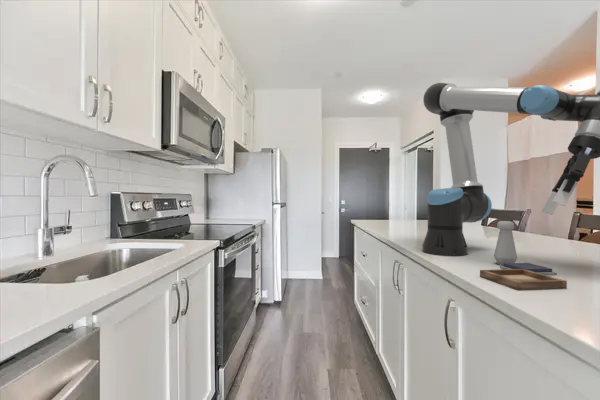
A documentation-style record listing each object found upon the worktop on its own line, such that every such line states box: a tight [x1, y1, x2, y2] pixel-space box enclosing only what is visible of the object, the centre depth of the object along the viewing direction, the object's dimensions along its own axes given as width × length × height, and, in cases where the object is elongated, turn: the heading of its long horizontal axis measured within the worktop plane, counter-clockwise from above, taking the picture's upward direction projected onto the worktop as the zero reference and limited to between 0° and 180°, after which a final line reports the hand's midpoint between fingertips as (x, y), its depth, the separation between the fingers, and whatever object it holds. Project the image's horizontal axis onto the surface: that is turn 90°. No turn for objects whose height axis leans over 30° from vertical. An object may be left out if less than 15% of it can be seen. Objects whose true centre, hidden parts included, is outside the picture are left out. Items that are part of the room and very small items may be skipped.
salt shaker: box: [493, 220, 518, 266], centre depth 97 cm, size 6×6×13 cm
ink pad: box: [499, 262, 558, 276], centre depth 88 cm, size 9×9×2 cm
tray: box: [479, 268, 568, 291], centre depth 77 cm, size 12×12×2 cm
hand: (552, 208), depth 90 cm, fingers open, 13 cm apart
